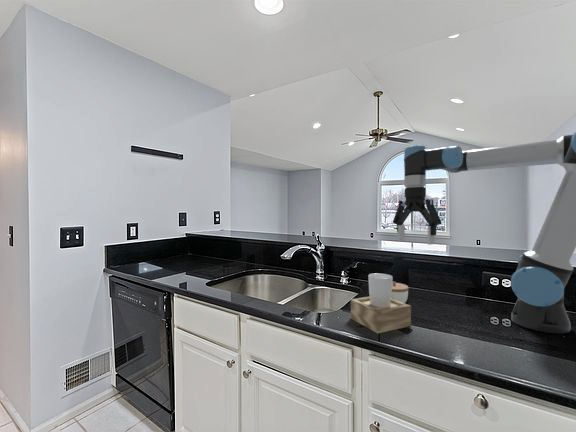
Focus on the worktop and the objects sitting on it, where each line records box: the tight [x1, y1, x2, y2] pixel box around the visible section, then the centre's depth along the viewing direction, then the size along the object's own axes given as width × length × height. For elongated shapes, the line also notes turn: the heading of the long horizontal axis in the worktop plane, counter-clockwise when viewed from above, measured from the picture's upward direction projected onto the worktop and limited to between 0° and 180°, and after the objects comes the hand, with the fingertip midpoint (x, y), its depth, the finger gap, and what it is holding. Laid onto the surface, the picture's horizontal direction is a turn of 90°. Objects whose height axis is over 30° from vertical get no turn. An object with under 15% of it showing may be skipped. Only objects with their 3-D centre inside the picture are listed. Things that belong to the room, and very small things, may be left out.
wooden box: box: [350, 296, 412, 334], centre depth 102 cm, size 14×14×7 cm
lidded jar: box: [391, 280, 409, 304], centre depth 120 cm, size 11×11×9 cm
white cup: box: [368, 272, 393, 308], centre depth 102 cm, size 8×8×10 cm
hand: (415, 242), depth 114 cm, fingers open, 13 cm apart
